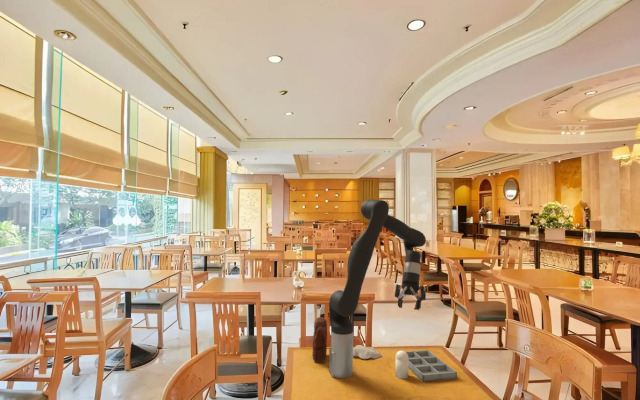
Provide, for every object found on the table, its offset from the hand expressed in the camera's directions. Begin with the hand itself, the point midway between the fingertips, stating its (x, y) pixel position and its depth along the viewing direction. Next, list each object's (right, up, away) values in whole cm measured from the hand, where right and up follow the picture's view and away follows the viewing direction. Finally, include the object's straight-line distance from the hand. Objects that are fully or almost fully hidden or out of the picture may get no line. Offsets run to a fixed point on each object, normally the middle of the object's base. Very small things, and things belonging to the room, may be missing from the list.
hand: (408, 308), depth 152 cm
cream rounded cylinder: (-7, -23, -15) cm, 28 cm away
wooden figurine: (-41, -23, +1) cm, 47 cm away
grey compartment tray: (+5, -23, -7) cm, 25 cm away
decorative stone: (-19, -24, +5) cm, 31 cm away
